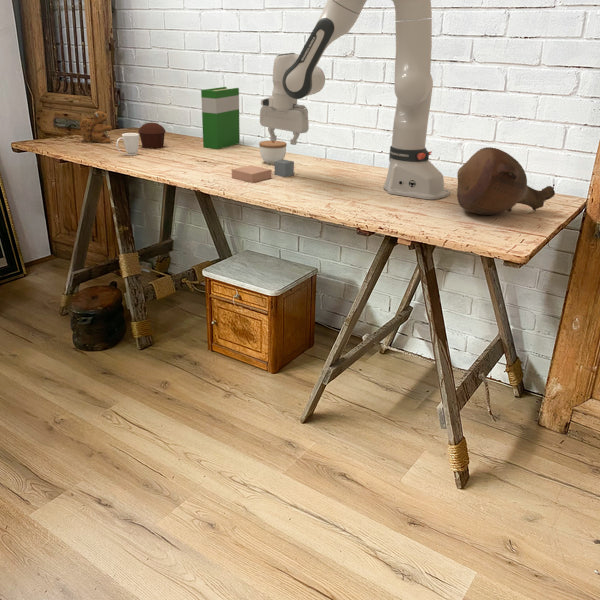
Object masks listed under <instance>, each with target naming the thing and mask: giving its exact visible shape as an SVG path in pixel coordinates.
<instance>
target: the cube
mask: <svg viewBox="0 0 600 600" xmlns="http://www.w3.org/2000/svg"><path fill="white" fill-rule="evenodd" d="M294 171H295V161H293V160H288V159H285V158H284V159H283V160H279V161H275V164H274V176H279V177H282V178H286V177H292V176H294V174H295V172H294Z"/></svg>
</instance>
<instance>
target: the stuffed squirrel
mask: <svg viewBox="0 0 600 600" xmlns="http://www.w3.org/2000/svg"><path fill="white" fill-rule="evenodd" d="M106 122H108V123H109V116H108V114H107V113H106V112H104V111H101V110H97V111H94V115H93V121H92V119H91V118H83V119H81V120H80V122H79V129H80V130H81V134H82V139H83V140H84V141H85V142H87V143H98V144H111V143H112V139H111V136H109V135H108V132H111V131H112V130H113V126H111V125H110V124H108V125H107V124H106Z"/></svg>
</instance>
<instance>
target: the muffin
mask: <svg viewBox="0 0 600 600" xmlns="http://www.w3.org/2000/svg"><path fill="white" fill-rule="evenodd" d="M137 132H138V134H139V139H140V143H141V146H142V148H143V147H144V148H143V149H147V148H153V149H156V148H157V149H161V148H164V144H165V133H166V132H167V131H166V129H165V128H164V127H163V126H162V125H161V124H159V123H157V122H145V123H144V124H142V125H141V126H140V127H139V129H138V131H137ZM157 149H156V150H157Z"/></svg>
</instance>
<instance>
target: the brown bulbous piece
mask: <svg viewBox="0 0 600 600" xmlns="http://www.w3.org/2000/svg"><path fill="white" fill-rule="evenodd" d="M456 176H457V190H456V191H457V192H456V198H457V202H458V205H459V207H461V208H462V209H464V210H465V211H469V212H471V213H473V214H476V215H477V214H478V215H481V216H482V215H483V216H493V215H497V214H501V213H504V212H506V211H507V212H509V213H511V212H512V208H514V206H516V205H517V204H521V205H525V206H528V207H530V208H531V209H532V211H533V210H535V211H537V209H540V208H543V207H544V204H545V202H546V201H548V200H551V199H552V198H553V197H555V194H556V191H555V190H554V186H552V185H547V186H545V188H542V189H541V190H537V189H535V188H532V187H531V186H529V185H528V178H527V173H526V171H525V170H524V168H523V166H522V165H521V164H520V162H519V161H518V160H517V159H516V158H515V157H514V156H512V155H510V153H507V152H506V151H504V150H502V149H499V148H497V147H483V148H480V149H479V150H477V151H476V152H475V153H473V155H471V157H470V158H469V159H468V160H467V161H466V162H465V163H464V164H463V165H461V167H459V169H458V170H457V175H456ZM535 211H534V212H535Z"/></svg>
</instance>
